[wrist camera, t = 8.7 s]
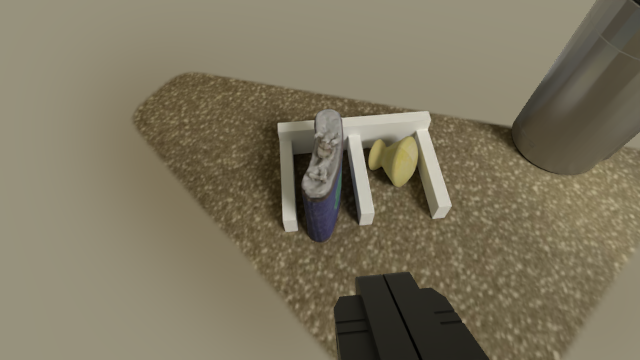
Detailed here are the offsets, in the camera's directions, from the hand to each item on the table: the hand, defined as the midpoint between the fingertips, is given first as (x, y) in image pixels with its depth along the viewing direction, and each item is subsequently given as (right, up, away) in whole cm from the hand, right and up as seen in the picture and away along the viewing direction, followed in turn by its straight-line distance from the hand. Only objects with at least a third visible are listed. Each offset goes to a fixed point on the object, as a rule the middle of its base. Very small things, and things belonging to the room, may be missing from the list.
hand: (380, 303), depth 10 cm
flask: (-1, +1, +26) cm, 26 cm away
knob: (+6, +4, +28) cm, 29 cm away
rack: (+2, +4, +27) cm, 28 cm away
